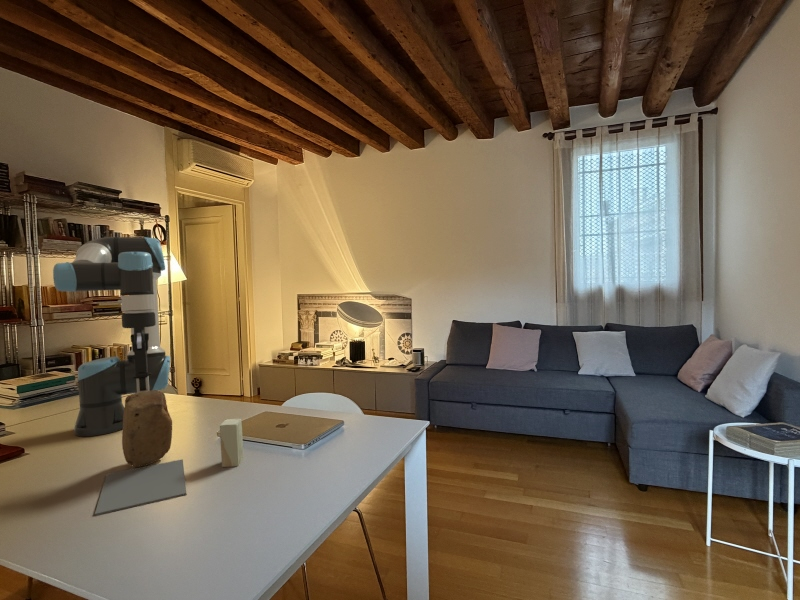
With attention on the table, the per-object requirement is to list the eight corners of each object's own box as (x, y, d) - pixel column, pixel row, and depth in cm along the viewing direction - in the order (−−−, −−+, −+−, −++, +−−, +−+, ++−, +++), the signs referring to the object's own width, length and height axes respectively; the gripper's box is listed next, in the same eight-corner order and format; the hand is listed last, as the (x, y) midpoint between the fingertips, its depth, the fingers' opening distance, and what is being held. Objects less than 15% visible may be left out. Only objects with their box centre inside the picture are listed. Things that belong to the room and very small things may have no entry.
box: (227, 459, 118) (225, 418, 117) (244, 458, 118) (242, 417, 118) (221, 467, 113) (219, 425, 112) (238, 466, 113) (236, 424, 112)
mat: (107, 475, 110) (106, 474, 110) (182, 460, 118) (182, 459, 118) (94, 515, 90) (94, 513, 90) (186, 494, 98) (186, 493, 98)
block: (125, 472, 112) (126, 411, 104) (120, 451, 117) (121, 391, 109) (172, 459, 119) (176, 401, 111) (165, 440, 124) (169, 383, 116)
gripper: (123, 311, 118) (128, 399, 119) (119, 313, 106) (125, 410, 107) (155, 310, 121) (160, 394, 122) (154, 311, 110) (160, 405, 111)
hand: (143, 402), depth 115 cm, fingers closed
